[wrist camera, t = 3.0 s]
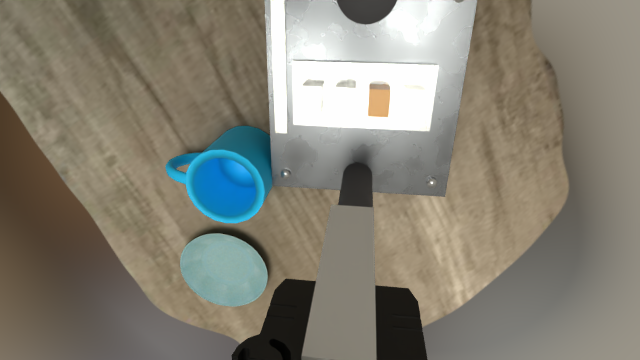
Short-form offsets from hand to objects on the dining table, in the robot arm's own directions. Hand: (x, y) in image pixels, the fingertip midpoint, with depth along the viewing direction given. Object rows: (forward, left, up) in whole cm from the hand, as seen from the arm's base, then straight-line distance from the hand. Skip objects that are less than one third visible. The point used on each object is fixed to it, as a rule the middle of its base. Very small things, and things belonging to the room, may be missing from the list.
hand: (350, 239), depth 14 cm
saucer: (+24, -17, -30) cm, 42 cm away
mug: (+9, -15, -30) cm, 35 cm away
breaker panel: (0, 0, -30) cm, 30 cm away
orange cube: (0, +1, -24) cm, 24 cm away
